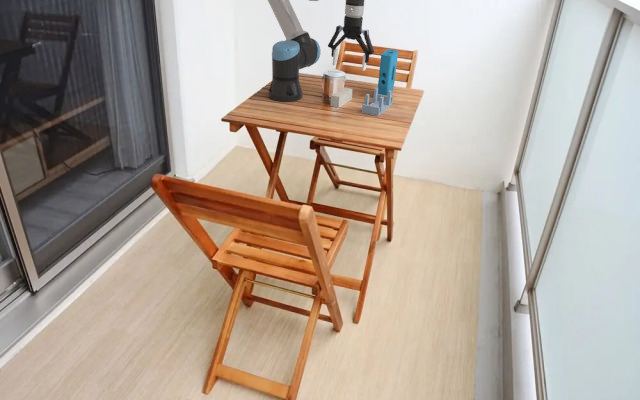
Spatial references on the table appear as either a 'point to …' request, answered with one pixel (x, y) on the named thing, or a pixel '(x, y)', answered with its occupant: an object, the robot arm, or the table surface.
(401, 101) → the table surface
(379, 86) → the block
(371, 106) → the rack
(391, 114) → the table surface
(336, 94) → the white rectangular bar
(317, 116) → the table surface
